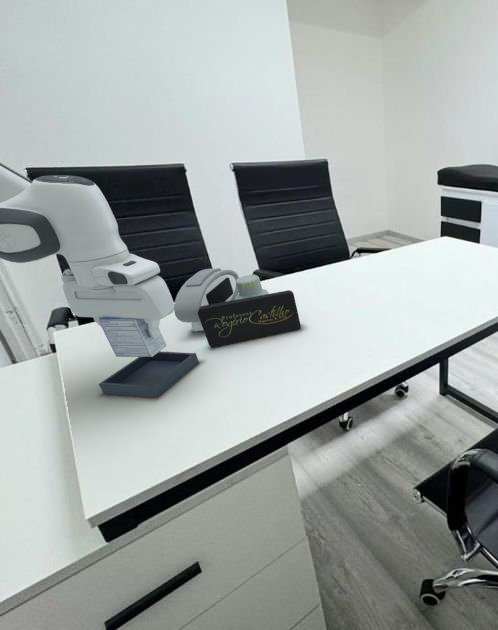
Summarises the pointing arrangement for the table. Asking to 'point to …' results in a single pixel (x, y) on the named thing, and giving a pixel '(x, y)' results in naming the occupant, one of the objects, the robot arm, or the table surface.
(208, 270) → the alarm clock
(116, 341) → the medicine box
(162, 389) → the tray
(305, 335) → the table surface
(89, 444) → the table surface
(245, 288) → the air freshener
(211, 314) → the nameplate
